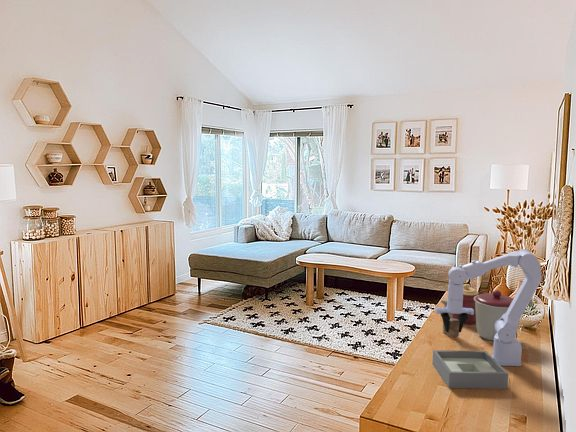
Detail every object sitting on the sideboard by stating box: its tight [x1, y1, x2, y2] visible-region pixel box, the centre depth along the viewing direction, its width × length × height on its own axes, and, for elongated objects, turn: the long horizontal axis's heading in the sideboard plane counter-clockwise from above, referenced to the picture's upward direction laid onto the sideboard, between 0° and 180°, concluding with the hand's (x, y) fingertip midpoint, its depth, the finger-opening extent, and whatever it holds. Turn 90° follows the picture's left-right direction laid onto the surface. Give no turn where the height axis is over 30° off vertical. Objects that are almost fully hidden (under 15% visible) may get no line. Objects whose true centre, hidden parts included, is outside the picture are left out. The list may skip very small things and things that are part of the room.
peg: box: [446, 318, 460, 338], centre depth 183 cm, size 4×4×6 cm
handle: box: [440, 297, 452, 335], centre depth 206 cm, size 5×6×15 cm
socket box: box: [431, 349, 509, 390], centre depth 167 cm, size 20×18×6 cm
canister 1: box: [452, 283, 480, 325], centre depth 223 cm, size 13×13×18 cm
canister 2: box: [474, 289, 514, 342], centre depth 202 cm, size 18×18×21 cm
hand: (452, 331), depth 183 cm, fingers closed on peg, 4 cm apart
